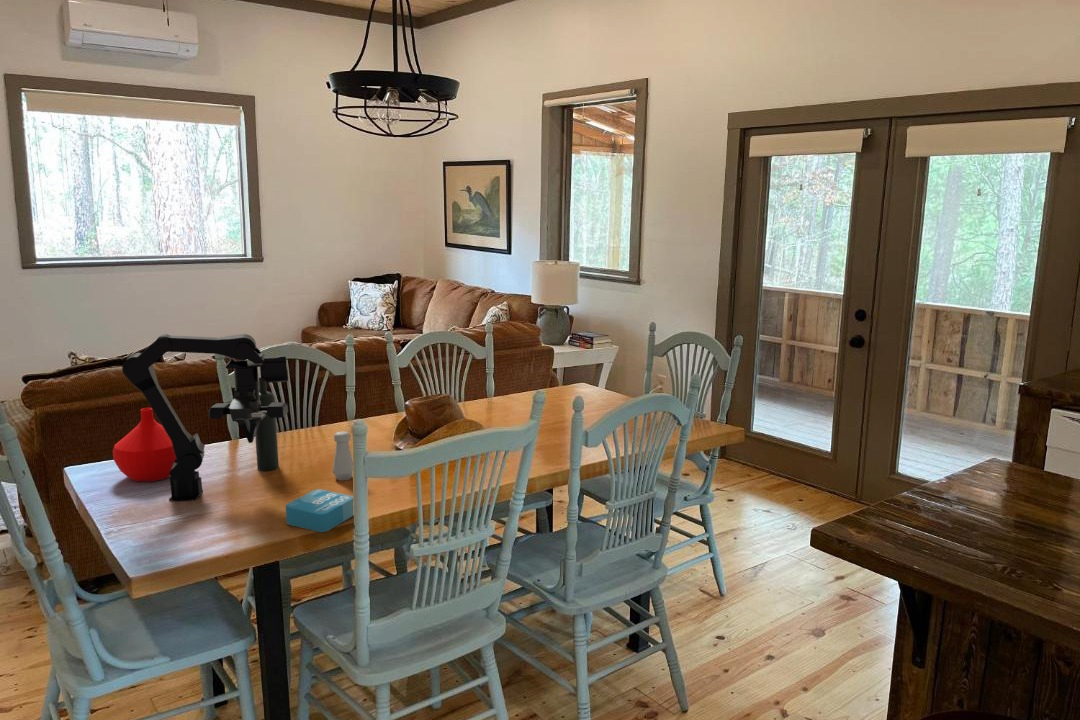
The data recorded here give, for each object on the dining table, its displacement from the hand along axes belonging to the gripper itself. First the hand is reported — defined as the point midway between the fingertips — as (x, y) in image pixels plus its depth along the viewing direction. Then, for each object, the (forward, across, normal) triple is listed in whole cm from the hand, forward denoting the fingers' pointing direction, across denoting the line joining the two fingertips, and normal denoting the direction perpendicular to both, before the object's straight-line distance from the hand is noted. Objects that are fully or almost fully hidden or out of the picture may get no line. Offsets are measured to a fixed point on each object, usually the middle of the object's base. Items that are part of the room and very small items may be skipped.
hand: (250, 442), depth 211 cm
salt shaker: (+13, +22, +8) cm, 27 cm away
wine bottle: (+13, -1, +18) cm, 22 cm away
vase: (+13, -31, +13) cm, 36 cm away
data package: (+10, +16, -19) cm, 27 cm away
